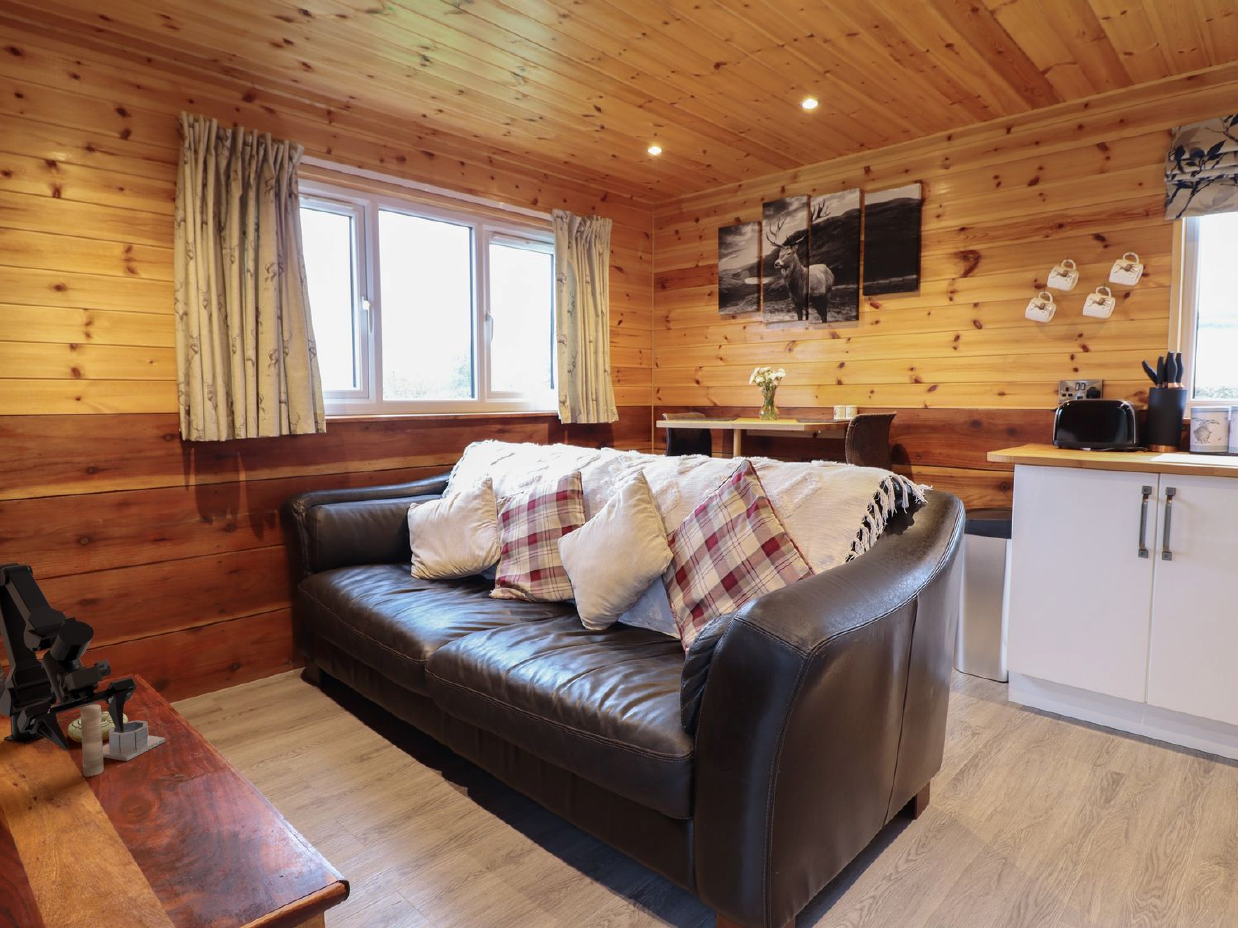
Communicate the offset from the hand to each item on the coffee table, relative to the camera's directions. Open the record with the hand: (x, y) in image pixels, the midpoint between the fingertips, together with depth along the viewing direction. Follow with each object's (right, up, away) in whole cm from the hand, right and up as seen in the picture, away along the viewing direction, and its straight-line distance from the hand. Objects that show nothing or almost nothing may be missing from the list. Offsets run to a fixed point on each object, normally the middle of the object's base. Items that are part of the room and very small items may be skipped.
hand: (95, 740), depth 141 cm
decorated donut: (-12, -6, +18) cm, 22 cm away
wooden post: (-1, -7, +1) cm, 7 cm away
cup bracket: (-1, -6, +11) cm, 13 cm away
